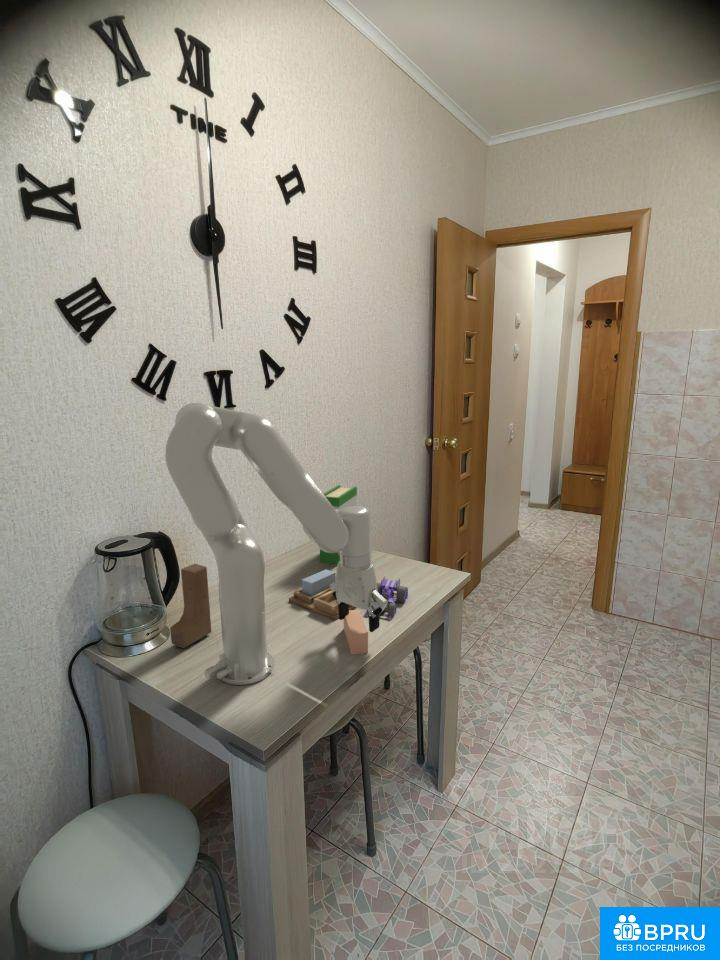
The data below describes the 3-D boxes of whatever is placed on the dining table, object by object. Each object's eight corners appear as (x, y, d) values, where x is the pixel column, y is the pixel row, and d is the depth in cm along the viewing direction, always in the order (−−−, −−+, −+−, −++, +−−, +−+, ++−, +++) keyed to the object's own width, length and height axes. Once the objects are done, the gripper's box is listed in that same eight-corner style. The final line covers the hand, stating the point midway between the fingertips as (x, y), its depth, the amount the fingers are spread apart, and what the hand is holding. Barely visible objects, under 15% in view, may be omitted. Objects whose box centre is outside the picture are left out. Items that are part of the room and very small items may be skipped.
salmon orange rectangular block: (367, 656, 116) (368, 632, 115) (351, 657, 116) (351, 634, 114) (358, 630, 128) (358, 609, 127) (343, 632, 127) (343, 610, 126)
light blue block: (311, 599, 141) (311, 583, 140) (302, 595, 144) (301, 579, 143) (335, 588, 149) (335, 572, 147) (326, 584, 151) (326, 569, 150)
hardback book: (338, 546, 187) (338, 485, 182) (357, 548, 185) (356, 486, 179) (320, 563, 171) (318, 496, 165) (340, 565, 168) (339, 498, 163)
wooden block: (183, 649, 118) (177, 579, 114) (170, 643, 120) (164, 575, 116) (212, 632, 125) (207, 566, 121) (200, 627, 128) (194, 562, 124)
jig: (334, 620, 131) (334, 608, 130) (288, 601, 142) (288, 589, 142) (373, 598, 144) (373, 587, 143) (328, 582, 155) (328, 571, 154)
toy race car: (360, 618, 133) (360, 596, 132) (377, 594, 147) (377, 574, 146) (394, 624, 130) (395, 601, 129) (408, 599, 144) (408, 578, 142)
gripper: (318, 555, 119) (322, 619, 123) (374, 572, 108) (377, 641, 112) (339, 546, 125) (342, 607, 129) (394, 561, 114) (396, 627, 118)
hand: (358, 623), depth 121 cm, fingers open, 9 cm apart
